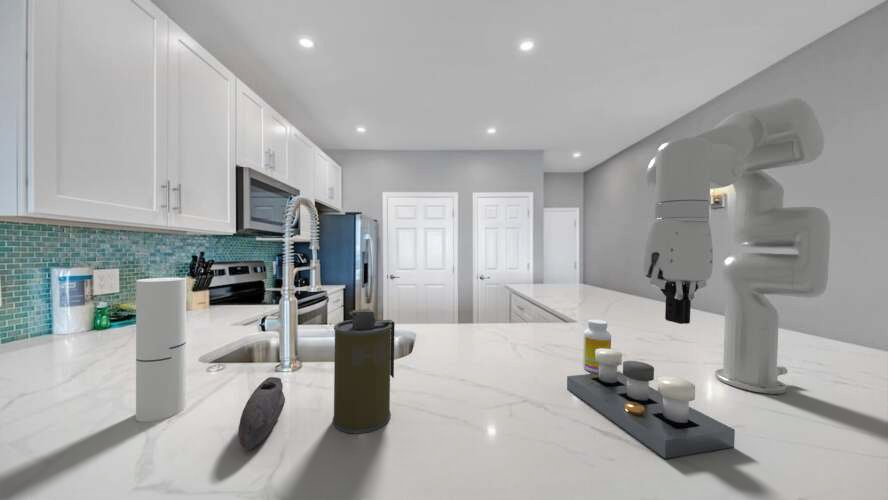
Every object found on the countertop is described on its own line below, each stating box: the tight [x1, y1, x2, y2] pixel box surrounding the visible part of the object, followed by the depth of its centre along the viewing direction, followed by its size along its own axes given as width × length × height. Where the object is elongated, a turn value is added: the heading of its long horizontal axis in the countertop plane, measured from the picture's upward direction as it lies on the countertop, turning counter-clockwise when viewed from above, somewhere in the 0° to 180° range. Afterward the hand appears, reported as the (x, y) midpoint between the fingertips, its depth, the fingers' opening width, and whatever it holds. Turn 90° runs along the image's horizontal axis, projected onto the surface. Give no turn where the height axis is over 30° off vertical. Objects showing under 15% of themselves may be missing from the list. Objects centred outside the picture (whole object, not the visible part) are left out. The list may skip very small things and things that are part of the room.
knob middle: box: [622, 360, 655, 400], centre depth 64 cm, size 5×5×6 cm
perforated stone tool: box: [238, 376, 286, 451], centre depth 56 cm, size 15×5×7 cm, turn 10°
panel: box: [566, 371, 736, 461], centre depth 64 cm, size 25×14×4 cm, turn 14°
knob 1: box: [595, 348, 623, 383], centre depth 72 cm, size 5×5×6 cm
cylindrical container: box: [135, 277, 187, 423], centre depth 62 cm, size 7×7×25 cm
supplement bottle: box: [582, 318, 612, 374], centre depth 87 cm, size 7×7×13 cm
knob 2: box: [657, 375, 696, 423], centre depth 56 cm, size 5×5×6 cm
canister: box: [332, 308, 396, 434], centre depth 61 cm, size 11×10×20 cm
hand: (677, 321), depth 56 cm, fingers closed
